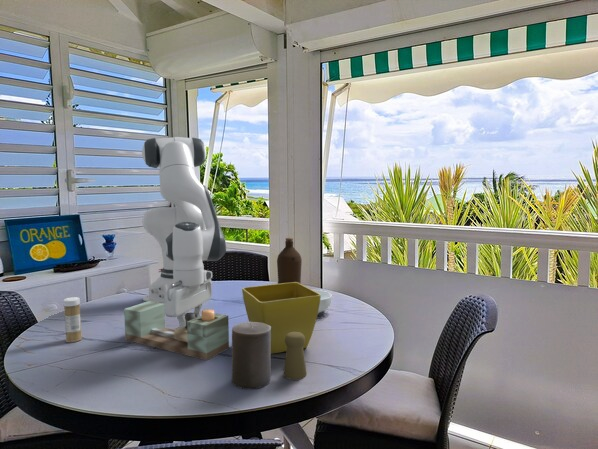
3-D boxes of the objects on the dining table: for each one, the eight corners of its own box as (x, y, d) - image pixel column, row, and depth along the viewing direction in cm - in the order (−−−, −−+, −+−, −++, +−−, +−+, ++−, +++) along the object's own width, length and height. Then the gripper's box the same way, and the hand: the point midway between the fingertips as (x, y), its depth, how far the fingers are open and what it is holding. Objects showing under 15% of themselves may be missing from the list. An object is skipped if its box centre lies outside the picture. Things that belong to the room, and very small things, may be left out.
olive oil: (306, 294, 192) (306, 237, 189) (291, 299, 184) (290, 240, 181) (288, 290, 199) (287, 235, 196) (272, 295, 190) (271, 238, 188)
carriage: (174, 342, 130) (173, 315, 129) (191, 335, 136) (190, 309, 135) (190, 346, 127) (189, 318, 126) (206, 338, 133) (205, 312, 133)
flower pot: (241, 338, 139) (241, 286, 138) (296, 330, 147) (296, 281, 145) (260, 361, 122) (260, 302, 120) (322, 350, 129) (322, 295, 128)
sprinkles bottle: (82, 336, 141) (79, 295, 140) (81, 341, 137) (79, 299, 136) (65, 339, 139) (63, 297, 138) (65, 343, 135) (62, 301, 134)
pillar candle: (238, 392, 104) (238, 331, 103) (227, 375, 113) (227, 318, 112) (276, 385, 108) (276, 326, 107) (263, 369, 117) (263, 314, 115)
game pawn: (282, 369, 117) (282, 329, 115) (305, 368, 117) (305, 328, 116) (284, 380, 111) (283, 337, 109) (307, 379, 111) (307, 337, 110)
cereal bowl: (337, 309, 171) (338, 291, 170) (321, 321, 156) (321, 302, 155) (298, 304, 178) (298, 286, 177) (279, 315, 163) (279, 297, 162)
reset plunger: (199, 325, 127) (198, 312, 127) (207, 321, 130) (207, 308, 130) (209, 327, 125) (208, 313, 125) (217, 323, 129) (216, 310, 128)
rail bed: (125, 339, 138) (124, 308, 137) (150, 330, 147) (148, 301, 146) (206, 360, 123) (206, 325, 122) (228, 348, 131) (228, 315, 130)
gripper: (177, 286, 119) (179, 335, 120) (215, 271, 138) (216, 314, 140) (157, 284, 121) (159, 333, 122) (197, 270, 140) (198, 312, 142)
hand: (190, 322), depth 131 cm, fingers open, 5 cm apart
